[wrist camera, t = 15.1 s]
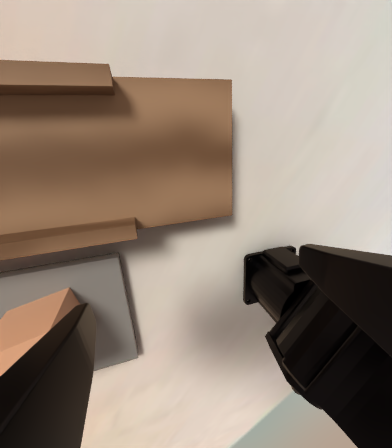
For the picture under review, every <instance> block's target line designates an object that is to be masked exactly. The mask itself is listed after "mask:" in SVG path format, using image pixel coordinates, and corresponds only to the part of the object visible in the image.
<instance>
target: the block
mask: <svg viewBox="0 0 392 448" xmlns="http://www.w3.org/2000/svg"><path fill="white" fill-rule="evenodd" d="M77 305H80V303H79V302H78V300H77V298H76V297H75V295H74V294H73V292H72V290H71V289H70V287H69V288H66V289H63V290H61V291H58V292H56V293H53V294H50V295H48V296H45V297H43V298H40V299H37V300H35V301H32V302H30V303H27V304H24V305H22V306H19V307H17V308H14V309H11V310H9V311H7V312H6V313H5V314H4V315H3V317H2V318H1V319H0V376H1V375H2V374H3V373H4V372H5V371H6V370H8V369H9V368H10V367H11V366H12V365H13V364H14V363H15V362H16V361H17V360H18V359H19V358H20V357H21V356H23V355H24V354H25V353H26V352H27V351H28V350H29V349H30V348H31V347H32V346H33V345H34V344H35V343H36V342H38V341H39V340H40V339H41V338H42V337H43V336H44V335H45V334H46V333H47V332H48V331H49V330H50V329H51V328H53V327H54V326H55V325H56V324H57V323H58V322H59V321H60V320H61V319H62V318H63V317H64V316H65V315H66V314H68V313H69V312H70V311H71V310H72V309H73V308H74V307H75V306H77Z"/></svg>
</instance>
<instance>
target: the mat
mask: <svg viewBox="0 0 392 448" xmlns="http://www.w3.org/2000/svg"><path fill="white" fill-rule="evenodd" d="M69 287H70V289H71V290H72V292H73V294H74V295H75V297H76V298H77V300H78V302H79V303H80V304H84V303H89V304H90V306H91V309H92V311H93V314H94V317H95V320H96V343H95V360H94V371H96V370H99V369H103V368H106V367H109V366H113V365H116V364H120V363H123V362H126V361H130V360H133V359H137V358H138V348H137V343H136V338H135V333H134V328H133V323H132V318H131V313H130V308H129V303H128V298H127V293H126V288H125V282H124V277H123V272H122V267H121V262H120V257H119V253H113V254H107V255H101V256H96V257H90V258H84V259H78V260H72V261H66V262H60V263H55V264H49V265H43V266H37V267H31V268H25V269H19V270H13V271H8V272H2V273H0V319H1V318H2V317H3V315H4V314H5V313H6V312H7V311H9V310H11V309H14V308H17V307H19V306H22V305H24V304H27V303H30V302H32V301H35V300H37V299H40V298H43V297H45V296H48V295H50V294H53V293H56V292H58V291H61V290H63V289H66V288H69Z"/></svg>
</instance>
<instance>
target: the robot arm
mask: <svg viewBox="0 0 392 448" xmlns="http://www.w3.org/2000/svg"><path fill="white" fill-rule="evenodd" d="M249 258H250V259H249ZM248 259H249V260H248ZM243 300H244V302H245V304H247V305H249V304H253V303H257V302H259V303H260V305H261V306H262V307H263V308H264V309H265V310H266V312H267V313H268V314H269V315H270V316H271V317H272V319H273V320H274V321H275V322H276V324H275V326H274V327H273V328H272V329H271V331H270V332H268V333H267V334H266V335H265V338H266V340H267V342H268V344H269V346H270V348H271V350H272V352H273V354H274V356H275V358H276V360H277V362H278V364H279V366H280V368H281V370H282V372H283V374H284V377H285V379H286V380H287V382H288V383H289V384H290V385H291V387H292V389H293V390H294V392H295V393H297V394H299V395H301V396H302V397H303V398H305V399H306V400H307V401H308V402H309V403H311V404H312V405H313V406H315V407H317V408H319V409H323V410H324V411H325V412H326V413H327V414H328V415H329V416H330V417H331V418H332V419H333V420H334V421H335V422H336V423H337V424H338V426H339V427H340V428H341V429H342V430H343V431H344V432H345V433H346V435H347V436H348V437H349V438H350V439H351V440H352V442H353V443H354V444H355V445H356V446H357V447H358V448H392V256H391V255H384V254H377V253H370V252H363V251H356V250H349V249H342V248H335V247H328V246H321V245H314V244H306V245H302V246H301V247H300V248H299V256H298V255H296V248H295V247H293V246H287V247H277V248H272V249H267V250H264V251H262V252H257V253H252V254H248V255H246V256H245V257H244V294H243ZM247 300H248V301H247ZM95 343H96V320H95V317H94V314H93V311H92V309H91V306H90V304H89V303H84V304H80V305H77V306H75V307H74V308H73V309H72V310H71V311H70V312H69V313H68V314H66V315H65V316H64V317H63V318H62V319H61V320H60V321H59V322H58V323H57V324H56V325H55V326H54V327H53V328H51V329H50V330H49V331H48V332H47V333H46V334H45V335H44V336H43V337H42V338H41V339H40V340H39V341H38V342H36V343H35V344H34V345H33V346H32V347H31V348H30V349H29V350H28V351H27V352H26V353H25V354H24V355H23V356H21V357H20V358H19V359H18V360H17V361H16V362H15V363H14V364H13V365H12V366H11V367H10V368H9V369H8V370H6V371H5V372H4V373H3V374H2V375H1V376H0V448H80V447H81V442H82V436H83V430H84V424H85V418H86V413H87V407H88V401H89V395H90V389H91V384H92V378H93V371H94V360H95Z"/></svg>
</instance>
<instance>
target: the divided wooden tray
mask: <svg viewBox="0 0 392 448" xmlns="http://www.w3.org/2000/svg"><path fill="white" fill-rule="evenodd" d="M230 215H232V80H223V79H181V78H139V77H112V75H111V71H110V67H109V64H93V63H66V62H39V61H13V60H0V260H7V259H13V258H19V257H26V256H32V255H38V254H44V253H51V252H57V251H63V250H70V249H76V248H82V247H89V246H95V245H101V244H108V243H114V242H120V241H126V240H133V239H137V229H142V228H149V227H156V226H163V225H169V224H176V223H183V222H190V221H196V220H203V219H210V218H217V217H223V216H230Z"/></svg>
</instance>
